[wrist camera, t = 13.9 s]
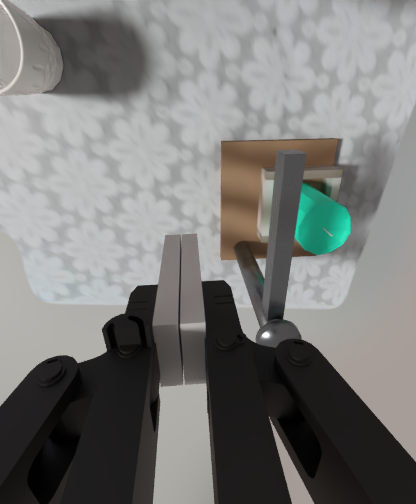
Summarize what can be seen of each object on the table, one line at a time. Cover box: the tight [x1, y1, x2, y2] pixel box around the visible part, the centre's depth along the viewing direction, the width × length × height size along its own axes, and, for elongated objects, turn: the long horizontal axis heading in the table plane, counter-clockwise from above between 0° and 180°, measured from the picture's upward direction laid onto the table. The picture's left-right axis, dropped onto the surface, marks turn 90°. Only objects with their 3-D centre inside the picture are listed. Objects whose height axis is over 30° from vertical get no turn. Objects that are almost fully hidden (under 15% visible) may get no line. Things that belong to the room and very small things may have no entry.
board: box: [221, 138, 343, 260], centre depth 38 cm, size 17×15×4 cm
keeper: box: [234, 150, 307, 348], centre depth 30 cm, size 18×4×19 cm, turn 1°
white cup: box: [0, 0, 63, 96], centre depth 26 cm, size 8×8×10 cm
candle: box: [295, 182, 351, 255], centre depth 34 cm, size 6×6×12 cm
